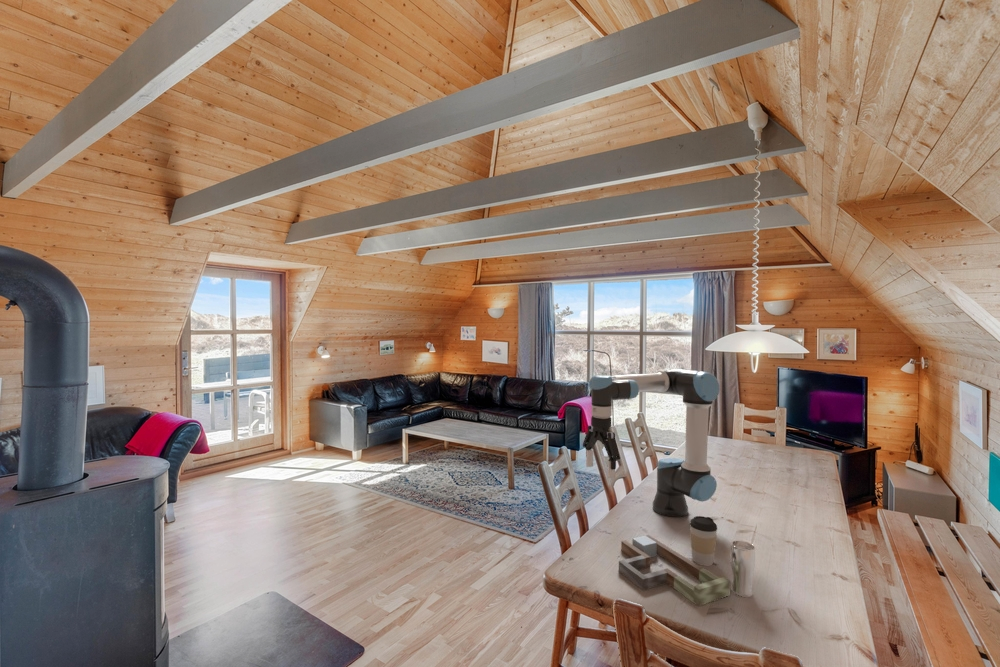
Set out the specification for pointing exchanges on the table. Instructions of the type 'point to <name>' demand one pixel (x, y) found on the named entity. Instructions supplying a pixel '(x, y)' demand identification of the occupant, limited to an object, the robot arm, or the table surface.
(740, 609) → the table surface
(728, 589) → the corridor
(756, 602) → the table surface
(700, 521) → the coffee cup
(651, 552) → the block
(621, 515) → the table surface
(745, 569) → the beer glass
